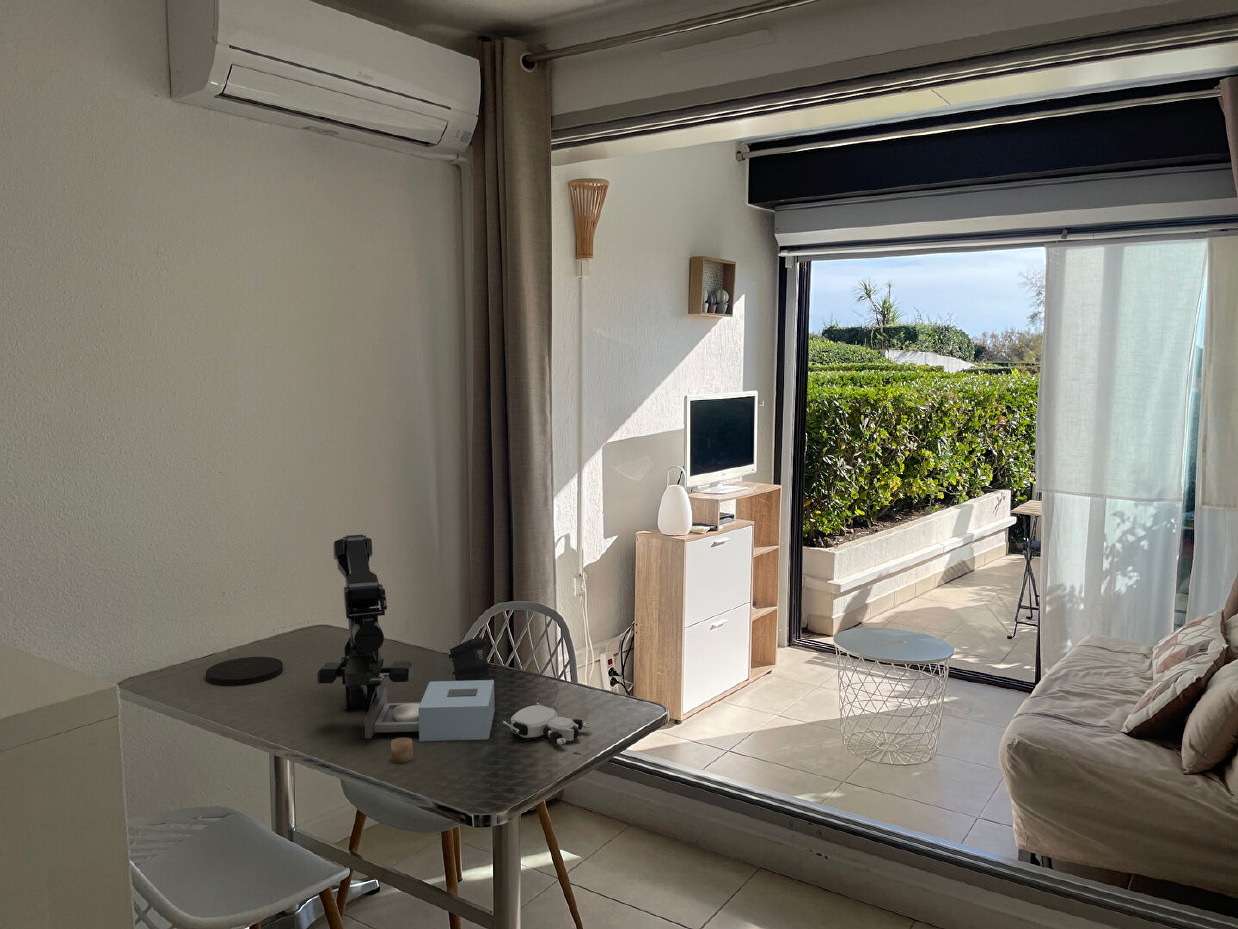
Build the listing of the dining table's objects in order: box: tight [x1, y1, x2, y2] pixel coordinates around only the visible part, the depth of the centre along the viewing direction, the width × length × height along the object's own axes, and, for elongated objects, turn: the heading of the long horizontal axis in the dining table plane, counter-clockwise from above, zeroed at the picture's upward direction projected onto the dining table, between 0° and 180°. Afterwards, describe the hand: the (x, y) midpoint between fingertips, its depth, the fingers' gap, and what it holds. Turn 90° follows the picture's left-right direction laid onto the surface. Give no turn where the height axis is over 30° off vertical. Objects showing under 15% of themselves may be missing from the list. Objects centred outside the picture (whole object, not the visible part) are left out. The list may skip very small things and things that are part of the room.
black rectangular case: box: [448, 636, 492, 681], centre depth 211 cm, size 4×13×15 cm, turn 40°
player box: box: [418, 679, 496, 742], centre depth 196 cm, size 14×16×7 cm
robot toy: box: [502, 702, 591, 745], centre depth 191 cm, size 12×4×15 cm
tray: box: [364, 687, 421, 739], centre depth 196 cm, size 14×17×4 cm
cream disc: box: [392, 704, 420, 722], centre depth 196 cm, size 7×7×2 cm
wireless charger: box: [205, 656, 284, 687], centre depth 231 cm, size 18×18×2 cm
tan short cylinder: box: [390, 736, 414, 764], centre depth 179 cm, size 4×4×4 cm
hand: (367, 711), depth 195 cm, fingers closed
